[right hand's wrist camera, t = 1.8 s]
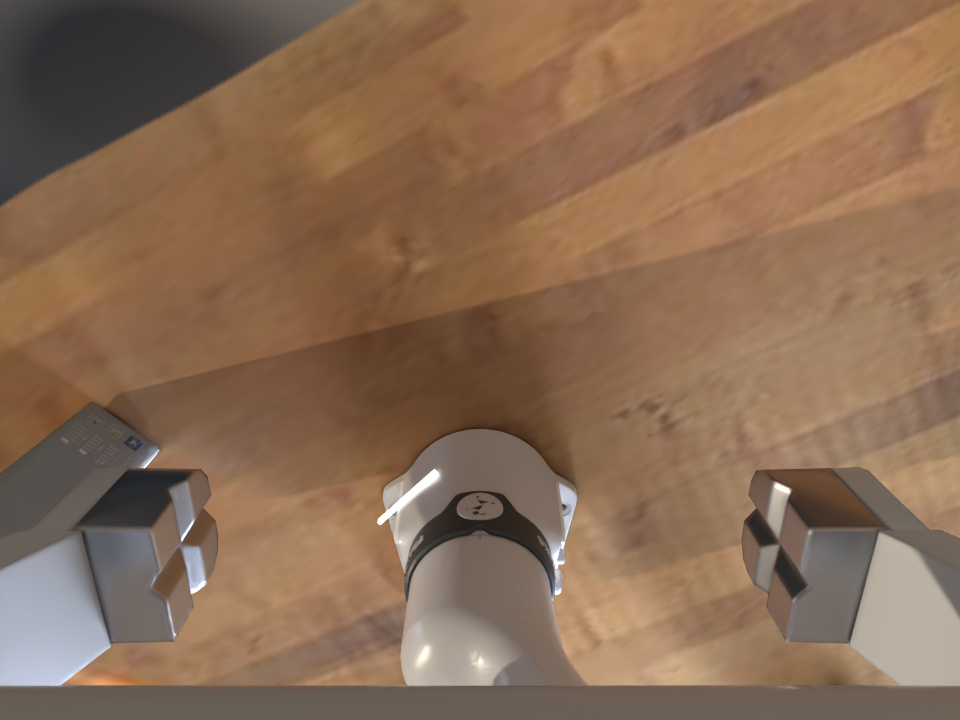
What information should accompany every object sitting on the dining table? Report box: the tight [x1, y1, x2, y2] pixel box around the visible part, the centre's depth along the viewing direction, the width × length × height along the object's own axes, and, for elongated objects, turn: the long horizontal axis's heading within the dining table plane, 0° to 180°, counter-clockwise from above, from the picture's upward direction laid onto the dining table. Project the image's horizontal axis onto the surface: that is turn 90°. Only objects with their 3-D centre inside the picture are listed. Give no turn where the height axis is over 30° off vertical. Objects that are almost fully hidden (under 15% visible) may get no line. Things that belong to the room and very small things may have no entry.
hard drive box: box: [0, 402, 159, 538], centre depth 56 cm, size 16×8×20 cm, turn 138°
